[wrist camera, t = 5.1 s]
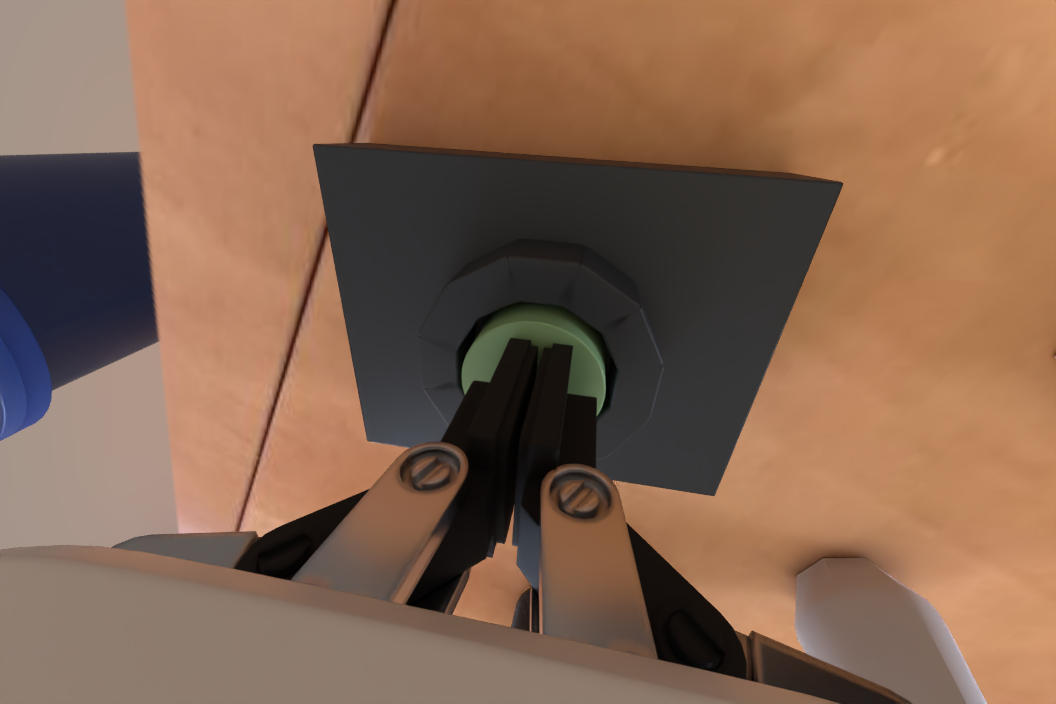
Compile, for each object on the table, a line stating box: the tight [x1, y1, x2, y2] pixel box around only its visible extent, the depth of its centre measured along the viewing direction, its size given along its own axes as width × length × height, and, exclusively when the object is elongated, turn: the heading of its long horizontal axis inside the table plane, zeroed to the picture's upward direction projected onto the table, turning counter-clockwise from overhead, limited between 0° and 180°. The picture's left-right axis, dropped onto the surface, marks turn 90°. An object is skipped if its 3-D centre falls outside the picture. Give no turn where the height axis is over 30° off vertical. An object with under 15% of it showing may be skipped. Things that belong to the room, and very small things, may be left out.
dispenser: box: [313, 143, 843, 496], centre depth 13 cm, size 14×11×5 cm
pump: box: [462, 301, 606, 415], centre depth 12 cm, size 4×4×2 cm
